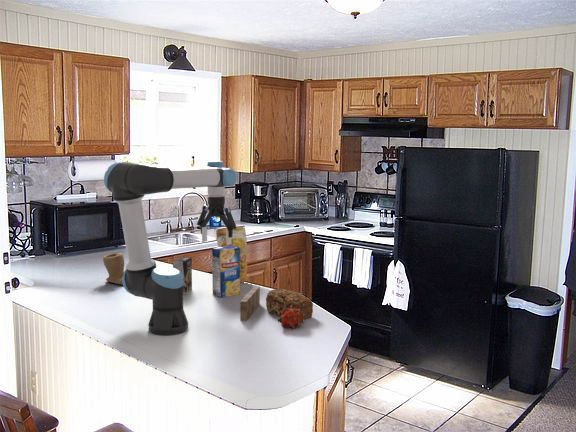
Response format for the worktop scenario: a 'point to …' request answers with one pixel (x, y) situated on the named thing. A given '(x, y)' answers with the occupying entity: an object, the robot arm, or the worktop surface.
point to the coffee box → (185, 272)
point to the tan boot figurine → (114, 267)
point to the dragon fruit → (292, 318)
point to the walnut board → (249, 303)
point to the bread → (288, 302)
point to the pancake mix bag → (238, 241)
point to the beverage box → (226, 271)
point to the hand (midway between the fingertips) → (216, 243)
